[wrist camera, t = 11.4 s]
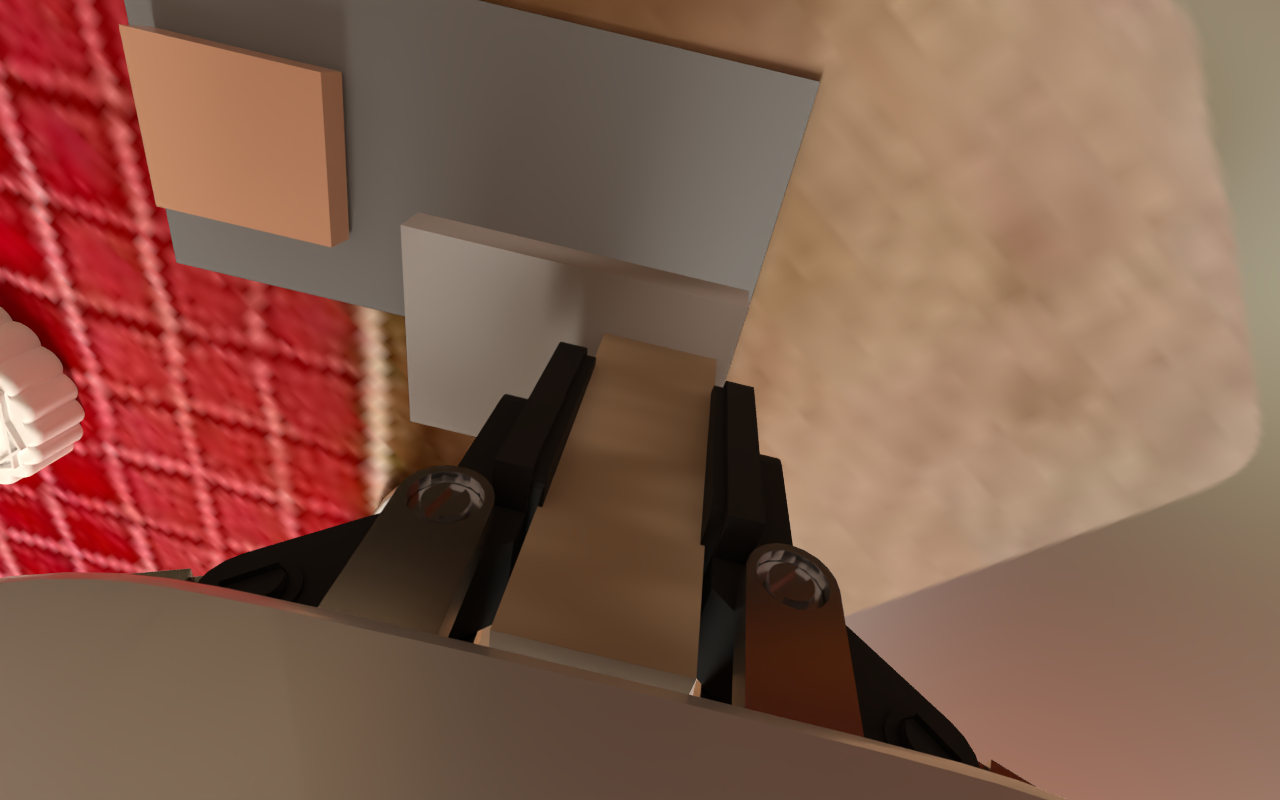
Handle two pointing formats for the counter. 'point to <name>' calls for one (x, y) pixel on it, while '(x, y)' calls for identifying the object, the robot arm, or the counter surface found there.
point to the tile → (240, 134)
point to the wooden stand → (583, 432)
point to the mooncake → (33, 404)
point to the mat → (511, 140)
